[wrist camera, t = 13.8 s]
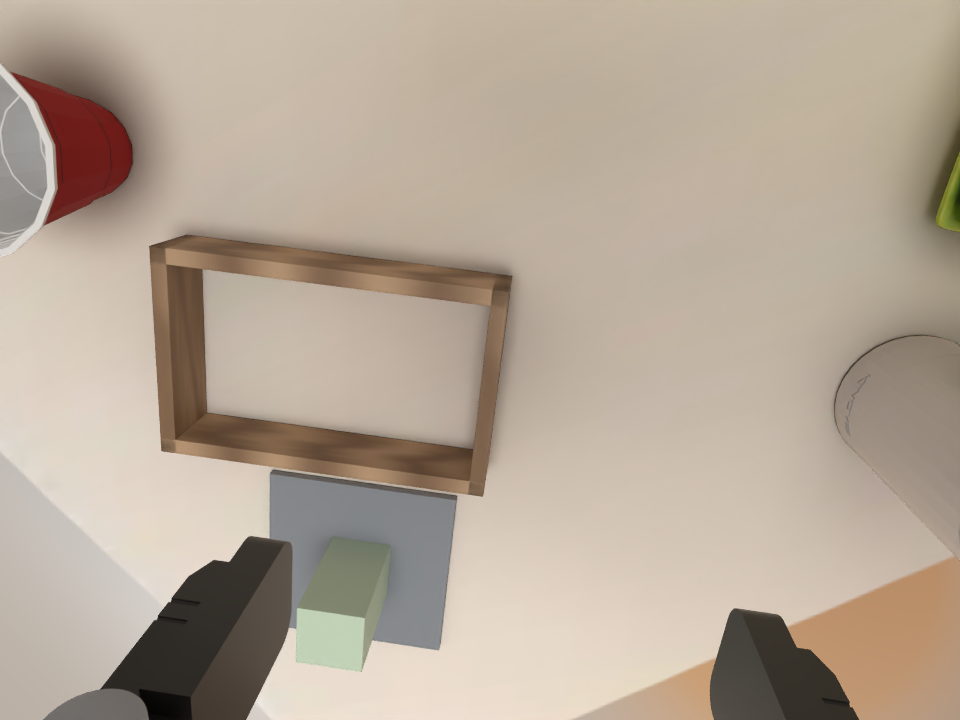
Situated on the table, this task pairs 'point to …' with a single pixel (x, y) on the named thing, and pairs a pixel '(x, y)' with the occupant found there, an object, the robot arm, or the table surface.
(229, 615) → the robot arm
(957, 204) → the flower pot
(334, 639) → the sage block
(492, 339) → the wooden frame
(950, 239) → the table surface
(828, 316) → the table surface
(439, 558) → the slate mat
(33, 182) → the plastic cup
